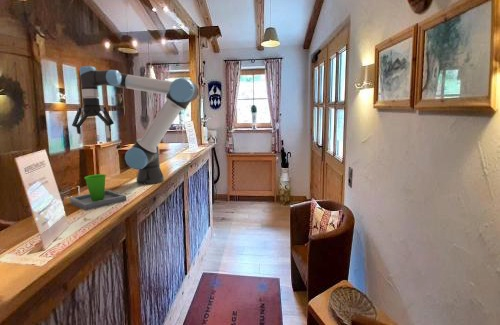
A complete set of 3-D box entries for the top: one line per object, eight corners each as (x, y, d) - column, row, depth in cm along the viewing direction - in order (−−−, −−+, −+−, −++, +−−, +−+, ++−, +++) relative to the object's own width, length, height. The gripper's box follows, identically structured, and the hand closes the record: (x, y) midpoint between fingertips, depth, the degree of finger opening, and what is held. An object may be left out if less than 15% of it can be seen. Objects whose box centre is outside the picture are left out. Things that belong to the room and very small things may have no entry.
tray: (109, 194, 160) (108, 189, 160) (126, 200, 148) (125, 195, 148) (70, 203, 147) (69, 197, 147) (85, 210, 135) (84, 205, 135)
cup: (100, 202, 142) (97, 178, 140) (82, 202, 144) (79, 178, 142) (112, 197, 151) (110, 174, 149) (95, 196, 153) (93, 174, 151)
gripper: (111, 98, 177) (115, 136, 181) (61, 98, 159) (67, 140, 163) (117, 97, 172) (121, 137, 176) (66, 97, 154) (72, 141, 158)
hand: (95, 139), depth 169 cm, fingers open, 13 cm apart
